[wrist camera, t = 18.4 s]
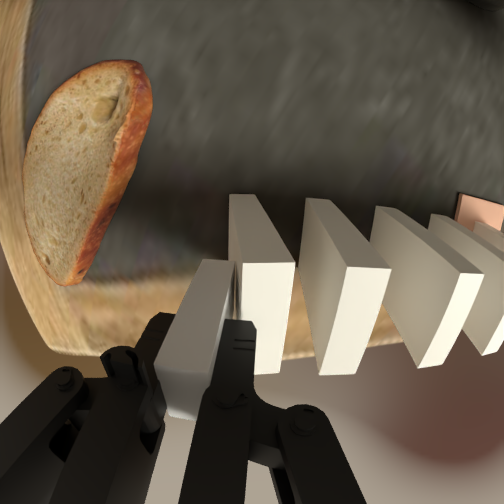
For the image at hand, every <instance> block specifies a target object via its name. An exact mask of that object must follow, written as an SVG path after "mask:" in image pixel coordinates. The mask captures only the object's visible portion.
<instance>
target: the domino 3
mask: <svg viewBox="0 0 504 504" xmlns="http://www.w3.org/2000/svg"><path fill="white" fill-rule="evenodd" d="M369 243H370V244H371V245H372V246H373V247H374V249H375V250H376V251H377V252H378V253H379V254H380V256H381V257H382V258H383V259H384V260H385V262H386V263H387V264H388V265H389V266H390V268H391V273H390V277H389V280H388V284H387V287H386V290H385V294H384V297H383V300H382V304H383V305H384V307H385V309H386V311H387V312H388V314H389V316H390V318H391V319H392V321H393V323H394V325H395V326H396V328H397V330H398V332H399V334H400V336H401V337H402V339H403V341H404V343H405V345H406V347H407V349H408V350H409V352H410V354H411V356H412V358H413V360H414V362H415V364H416V366H417V368H423V367H429V366H435V365H441V364H443V362H444V360H445V358H446V357H447V355H448V353H449V351H450V350H451V348H452V346H453V344H454V342H455V340H456V338H457V336H458V334H459V332H460V331H461V329H462V327H463V324H464V322H465V320H466V318H467V316H468V314H469V312H470V309H471V307H472V305H473V302H474V300H475V298H476V295H477V293H478V290H479V288H480V285H481V282H482V280H483V277H484V273H483V272H482V271H480V270H479V269H478V268H477V267H476V266H474V265H473V264H472V263H471V262H470V261H468V260H467V259H466V258H465V257H463V256H462V255H461V254H460V253H458V252H457V251H456V250H454V249H453V248H452V247H451V246H449V245H448V244H447V243H445V242H444V241H443V240H441V239H440V238H438V237H437V236H436V235H434V234H433V233H432V232H430V231H429V230H427V229H426V228H424V227H423V226H422V225H420V224H419V223H417V222H416V221H414V220H413V219H411V218H410V217H408V216H407V215H405V214H404V213H402V212H401V211H399V210H398V209H396V208H390V207H383V206H376V208H375V214H374V220H373V226H372V231H371V236H370V241H369Z"/></svg>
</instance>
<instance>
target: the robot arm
mask: <svg viewBox="0 0 504 504" xmlns="http://www.w3.org/2000/svg"><path fill="white" fill-rule="evenodd" d="M467 1H469V2H470V3H472V4H474V5H476V6H478V7H480V8H482V9H485V10H489V11H496V10H499V9H502V8H504V0H467ZM234 292H235V261H226V260H212V259H202V261H201V263H200V265H199V268H198V270H197V272H196V274H195V276H194V278H193V280H192V282H191V284H190V286H189V288H188V290H187V292H186V294H185V296H184V298H183V300H182V303H181V305H180V307H179V309H178V311H177V313H176V314H171V313H163V312H159V313H158V314H157V315H155V316H154V317H153V318H151V319H150V321H149V323H148V324H147V326H146V328H145V330H144V332H143V333H142V335H141V338H140V339H139V341H138V342H137V344H136V346H135V348H132V347H130V346H117V347H112V348H110V349H108V350H107V351H105V352H104V353H103V354H102V355H101V356H100V359H101V361H102V364H103V366H104V368H105V371H106V373H107V375H108V377H105V378H84V377H83V375H82V373H81V372H80V371H79V370H78V369H76V368H74V367H67V366H64V367H61V368H58V369H56V370H55V371H53V372H52V373H51V374H50V375H49V376H48V377H47V378H46V379H45V380H44V381H43V382H42V383H41V384H40V385H39V386H38V387H37V388H36V389H34V390H33V391H32V393H30V394H29V395H28V396H27V397H26V398H25V399H24V400H23V401H22V402H21V403H20V404H19V405H18V406H17V407H16V408H15V409H14V410H13V411H12V413H11V414H10V415H9V416H8V417H7V418H6V419H5V420H4V421H3V422H2V423H1V424H0V504H144V503H145V500H146V496H147V492H148V488H149V484H150V481H151V477H152V474H153V470H154V467H155V463H156V459H157V456H158V452H159V449H160V446H161V442H162V439H163V435H164V432H165V423H164V420H163V419H164V415H165V412H166V409H167V411H168V413H169V416H172V417H177V418H182V419H188V420H194V421H196V425H195V429H194V434H193V438H192V443H191V447H190V452H189V456H188V461H187V465H186V470H185V474H184V479H183V483H182V488H181V493H180V497H179V502H178V504H244V501H245V490H246V489H245V488H246V477H247V465H248V460H250V461H253V462H256V463H258V464H261V465H264V466H268V467H269V470H270V474H271V478H272V481H273V485H274V488H275V492H276V496H277V499H278V502H279V504H367V503H366V501H365V499H364V497H363V494H362V492H361V490H360V488H359V485H358V483H357V481H356V479H355V477H354V474H353V472H352V470H351V468H350V466H349V463H348V461H347V459H346V457H345V454H344V452H343V450H342V448H341V445H340V443H339V441H338V439H337V437H336V434H335V432H334V430H333V428H332V426H331V424H330V421H329V419H328V418H327V416H326V415H325V413H324V412H323V411H321V410H320V409H318V408H317V407H314V406H311V405H307V404H304V405H303V404H302V405H294V406H292V407H289V408H287V409H282V408H279V407H276V406H273V405H270V404H268V403H266V402H265V401H263V400H262V399H260V397H259V396H258V395H257V394H256V392H255V389H254V383H253V382H254V368H255V353H256V338H257V329H256V328H255V326H254V324H253V322H252V321H247V320H235V319H233V313H234ZM68 419H69V420H68Z"/></svg>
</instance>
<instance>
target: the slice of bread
mask: <svg viewBox="0 0 504 504" xmlns="http://www.w3.org/2000/svg"><path fill="white" fill-rule="evenodd" d="M152 109H153V96H152V89H151V84H150V81H149V79H148V77H147V75H146V73H145V72H144V69H143V66H142V65H141V64H140V63H139V62H137V61H134V60H105V61H101V62H98V63H96V64H94V65H91V66H89V67H87V68H85V69H83V70H81V71H80V72H78V73H77V74H75V75H74V76H72V77H71V78H69V79H68V80H66V81H65V82H64V83H62V84H61V85H60V86H59V87H58V88H57V89H56V90H55V91H54V92H53V93H52V94H51V96H50V97H49V99H48V100H47V102H46V104H45V106H44V108H43V109H42V111H41V113H40V115H39V116H38V118H37V120H36V122H35V124H34V126H33V128H32V131H31V135H30V138H29V141H28V142H27V150H26V154H25V157H24V163H23V169H22V181H23V186H24V215H25V221H26V228H27V232H28V235H29V238H30V241H31V244H32V248H33V251H34V253H35V255H36V257H37V259H38V261H39V263H40V265H41V266H42V268H43V269H44V271H45V272H46V274H47V275H48V276H49V277H50V278H51V279H52V280H54V281H55V283H56V284H58V285H60V286H69V285H73V284H78V283H80V282H81V281H82V279H83V277H84V275H85V274H86V272H87V271H88V269H89V267H90V266H91V264H92V263H93V260H94V257H95V255H96V253H97V251H98V249H99V246H100V243H101V240H102V238H103V236H104V234H105V231H106V229H107V227H108V225H109V223H110V221H111V219H112V217H113V215H114V213H115V211H116V209H117V207H118V205H119V203H120V201H121V199H122V196H123V194H124V192H125V189H126V187H127V184H128V182H129V180H130V178H131V176H132V174H133V172H134V169H135V167H136V164H137V160H138V153H139V150H140V147H141V144H142V141H143V139H144V136H145V133H146V131H147V128H148V125H149V121H150V118H151V114H152Z"/></svg>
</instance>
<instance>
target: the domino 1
mask: <svg viewBox="0 0 504 504" xmlns="http://www.w3.org/2000/svg"><path fill="white" fill-rule="evenodd" d="M228 261H235V292H234V313H233V319H235V320H247V321H252V322H253V324H254V326H255V328H256V329H257V338H256V353H255V368H254V375H255V374H269V373H279V371H280V365H281V359H282V353H283V347H284V341H285V334H286V328H287V321H288V314H289V307H290V300H291V293H292V285H293V278H294V270H295V261H294V259H293V257H292V256H291V254H290V252H289V251H288V249H287V247H286V246H285V244H284V242H283V240H282V239H281V237H280V235H279V234H278V232H277V230H276V229H275V227H274V225H273V224H272V222H271V220H270V219H269V217H268V215H267V214H266V212H265V210H264V209H263V207H262V205H261V204H260V202H259V201H258V199H257V197H256V196H255V194H229V241H228Z"/></svg>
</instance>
